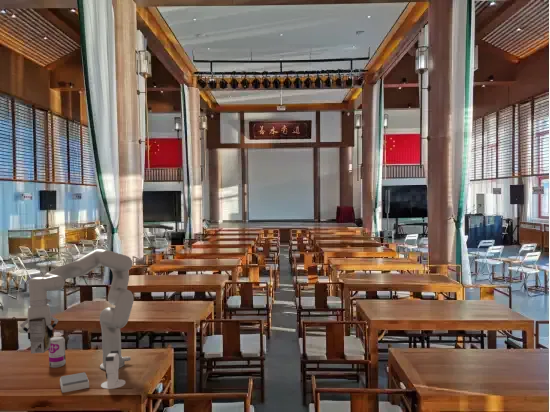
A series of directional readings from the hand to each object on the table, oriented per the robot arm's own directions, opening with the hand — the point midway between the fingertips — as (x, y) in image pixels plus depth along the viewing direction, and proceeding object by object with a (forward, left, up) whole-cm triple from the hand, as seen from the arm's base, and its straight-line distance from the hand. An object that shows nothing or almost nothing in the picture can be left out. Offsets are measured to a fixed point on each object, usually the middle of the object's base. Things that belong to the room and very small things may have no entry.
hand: (40, 338), depth 243 cm
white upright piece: (-31, +14, -24) cm, 41 cm away
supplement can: (-9, -31, -24) cm, 40 cm away
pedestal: (-14, +7, -24) cm, 28 cm away
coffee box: (0, 0, -6) cm, 6 cm away
